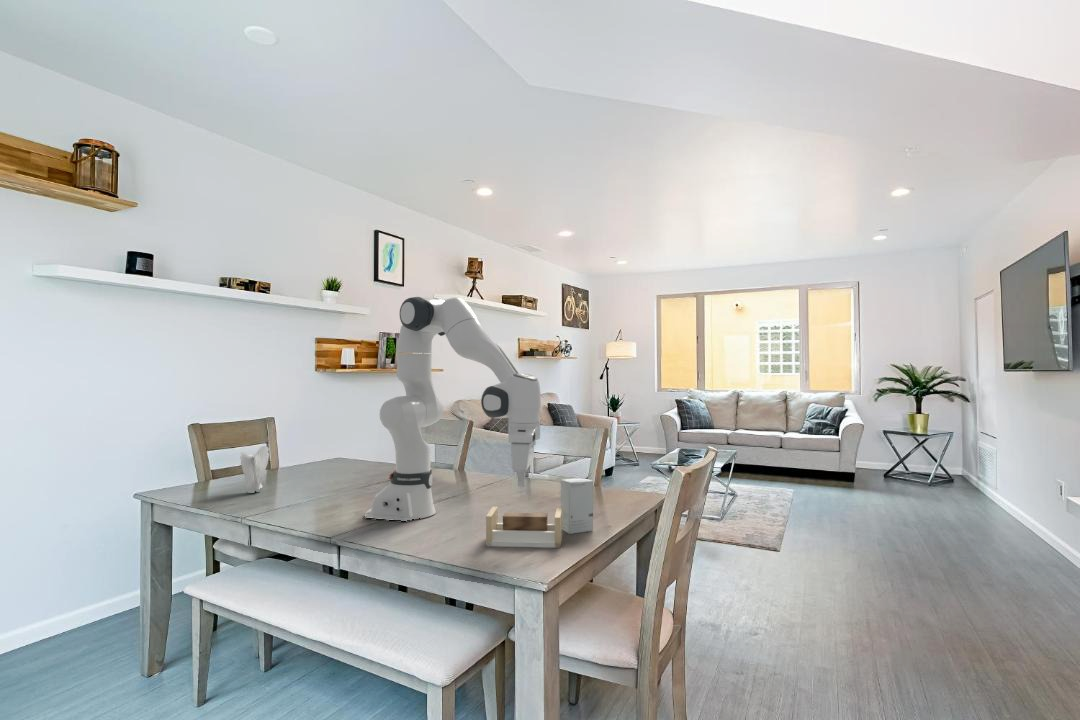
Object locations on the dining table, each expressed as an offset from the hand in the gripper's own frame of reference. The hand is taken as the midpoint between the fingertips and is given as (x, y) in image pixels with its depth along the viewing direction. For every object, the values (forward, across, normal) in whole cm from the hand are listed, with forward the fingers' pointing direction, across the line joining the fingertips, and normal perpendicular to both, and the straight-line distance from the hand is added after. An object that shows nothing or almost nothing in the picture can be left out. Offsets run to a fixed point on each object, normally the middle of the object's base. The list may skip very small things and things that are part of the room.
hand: (523, 482), depth 151 cm
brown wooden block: (+15, 0, +1) cm, 15 cm away
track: (+16, 0, +1) cm, 16 cm away
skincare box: (+16, -11, +15) cm, 24 cm away
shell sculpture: (+19, -51, -111) cm, 124 cm away
